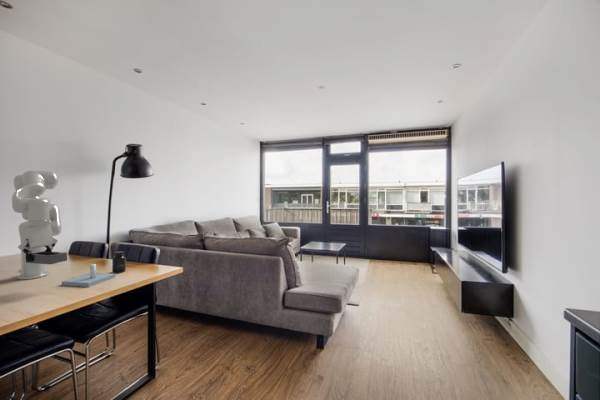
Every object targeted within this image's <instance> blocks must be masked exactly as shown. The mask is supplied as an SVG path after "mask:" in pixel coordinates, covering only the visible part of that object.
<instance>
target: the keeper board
mask: <svg viewBox="0 0 600 400" xmlns="http://www.w3.org/2000/svg"><path fill="white" fill-rule="evenodd" d="M116 276H117V275H116V273H107V272H105V273H104V272H97V264H96V263H91V264H89V272H88V273H84V274H81V275H78V276H75V277H71V278H68V279H65V280H62V281H61V286H68V287H84V288H90V287H92V286H96V285H99V284H100V283H104V282H106V281H110V280H112V279H114V278H116Z"/></svg>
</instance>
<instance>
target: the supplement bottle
mask: <svg viewBox="0 0 600 400" xmlns="http://www.w3.org/2000/svg"><path fill="white" fill-rule="evenodd" d="M111 264H112V266H111V271H112V274H120V273H124V272H126V269H127V267H126V266H127V265H126V264H127V257H126V256H125V251H115V252H114V256H113V257H112V262H111Z"/></svg>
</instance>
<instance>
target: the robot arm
mask: <svg viewBox="0 0 600 400" xmlns="http://www.w3.org/2000/svg"><path fill="white" fill-rule="evenodd" d="M58 183H59V177H58V175H57V174H56V172H54V171H47V170H46V171H45V170H27V171H25V172H24V173H22V174H18V175H15V176H14V177H13V187H14V190H15V191H14V192H13V194H12V195H11V205H12V210H13V211H14V212H15V213H18V214H21V218H22V219H23V220H25V221H23V222H21V223H20V224H19V225H18V233H19V239H20V244H19V245H18V246H17V248H18V249H20V261H21V262H20V266H21V267H20V269H18V270H17V273H20V274H19V275H18V276H17V277H16V278H17V279H18V280H32V279H38V278H43V277H47V276H48V275H50V274H49V273H50V272H49V271H47V270H46V264H37V263H26V261H27V262H32V261H33V253H36V252H42V251H49V252H53V249H54V247H55V246H56V245H57V243H58V239H56V238H54V237H55V236H59V235H60V234H61V233H62V222H61V213H60V212H61V211H60V208H59V206H58V205H57V204H56V203H55V204H54V203H53V201H52V200H51V199H50V198H47V197H41V195H43V194H45V192H46V190H54V188H55V187H56V186H57V185H58Z"/></svg>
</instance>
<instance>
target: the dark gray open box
mask: <svg viewBox="0 0 600 400" xmlns="http://www.w3.org/2000/svg"><path fill="white" fill-rule="evenodd" d="M67 261H68V252H64V251H63V252H60V251H52V252H49V251H42V252H36V253H33V261H32V262H27V261H26V263H37V264H45V265H54V264H58V263H63V262H67Z"/></svg>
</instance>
